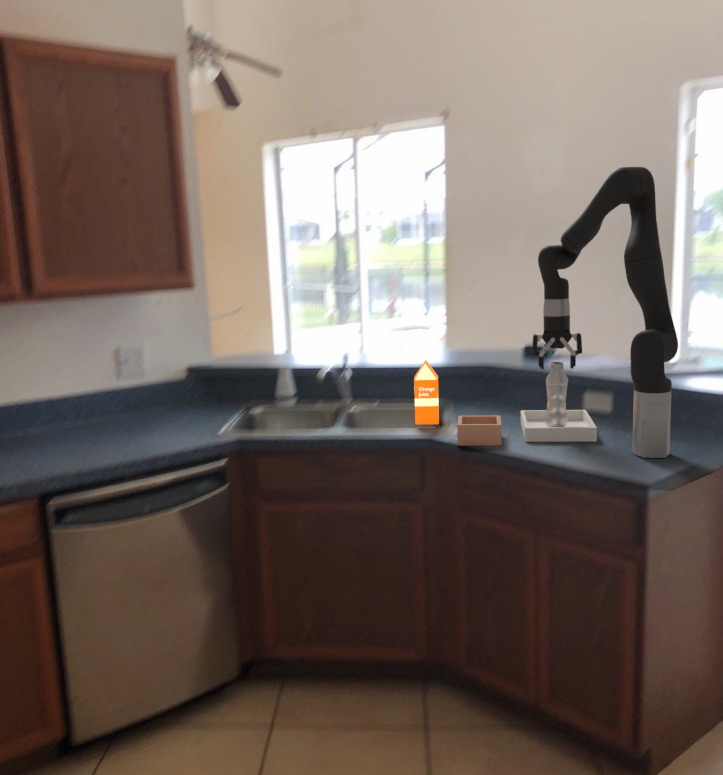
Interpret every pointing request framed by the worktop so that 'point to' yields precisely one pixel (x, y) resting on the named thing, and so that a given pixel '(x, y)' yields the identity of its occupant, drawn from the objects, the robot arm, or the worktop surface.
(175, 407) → the worktop surface
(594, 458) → the worktop surface
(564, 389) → the plastic bottle
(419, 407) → the orange juice
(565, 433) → the plastic tray
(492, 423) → the terracotta holder
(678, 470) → the worktop surface
